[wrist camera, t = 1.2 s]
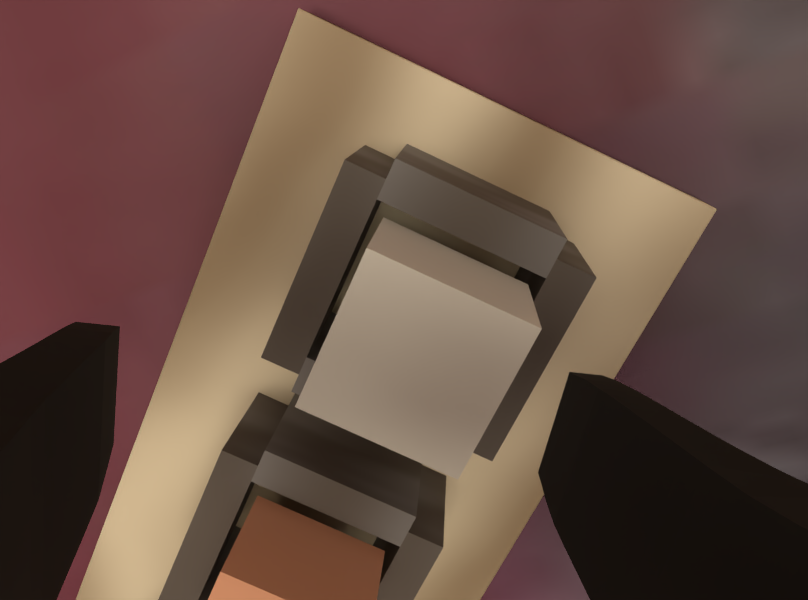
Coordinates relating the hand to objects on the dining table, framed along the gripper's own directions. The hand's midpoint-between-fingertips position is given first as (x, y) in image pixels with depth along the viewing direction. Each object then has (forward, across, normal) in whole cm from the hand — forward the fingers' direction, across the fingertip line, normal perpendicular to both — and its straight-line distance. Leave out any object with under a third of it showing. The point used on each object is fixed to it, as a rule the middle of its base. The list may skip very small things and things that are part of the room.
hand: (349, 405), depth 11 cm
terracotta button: (+5, 0, +8) cm, 10 cm away
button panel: (+10, -2, +9) cm, 13 cm away
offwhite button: (+5, -2, +1) cm, 6 cm away
